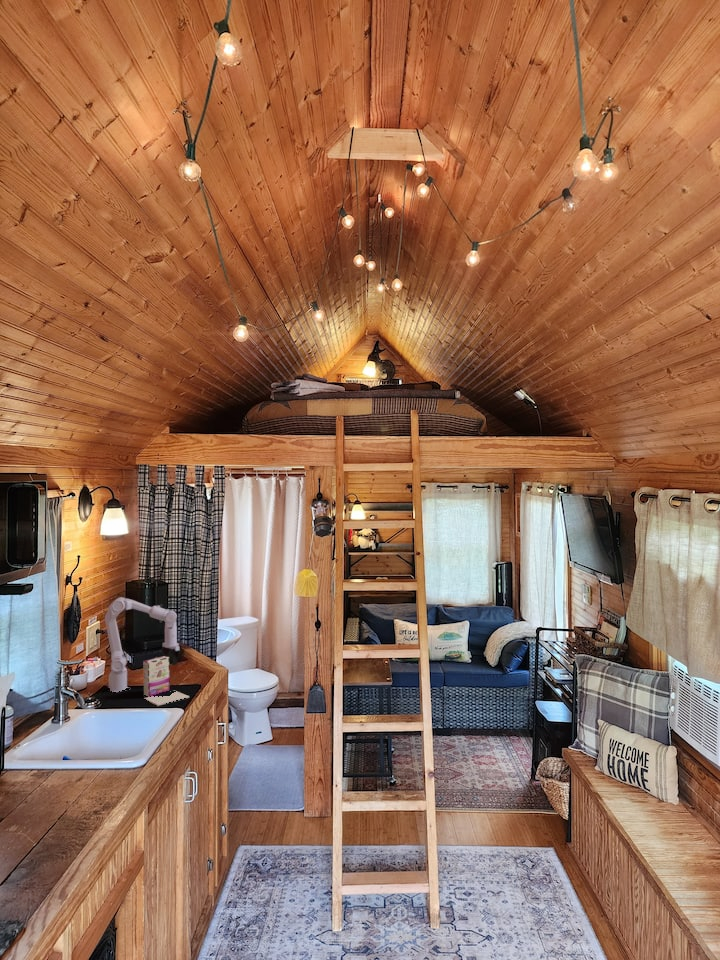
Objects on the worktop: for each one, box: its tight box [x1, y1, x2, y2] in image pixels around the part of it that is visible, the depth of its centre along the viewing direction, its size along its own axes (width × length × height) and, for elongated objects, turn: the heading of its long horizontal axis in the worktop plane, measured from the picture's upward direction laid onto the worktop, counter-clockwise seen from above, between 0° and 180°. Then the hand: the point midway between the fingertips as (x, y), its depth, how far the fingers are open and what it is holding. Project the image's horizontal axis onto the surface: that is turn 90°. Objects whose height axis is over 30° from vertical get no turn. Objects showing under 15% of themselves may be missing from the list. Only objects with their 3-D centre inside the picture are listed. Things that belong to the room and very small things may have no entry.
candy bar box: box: [142, 655, 171, 697], centre depth 270 cm, size 11×5×16 cm, turn 141°
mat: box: [143, 690, 190, 707], centre depth 262 cm, size 14×15×1 cm
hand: (171, 663), depth 285 cm, fingers open, 7 cm apart
